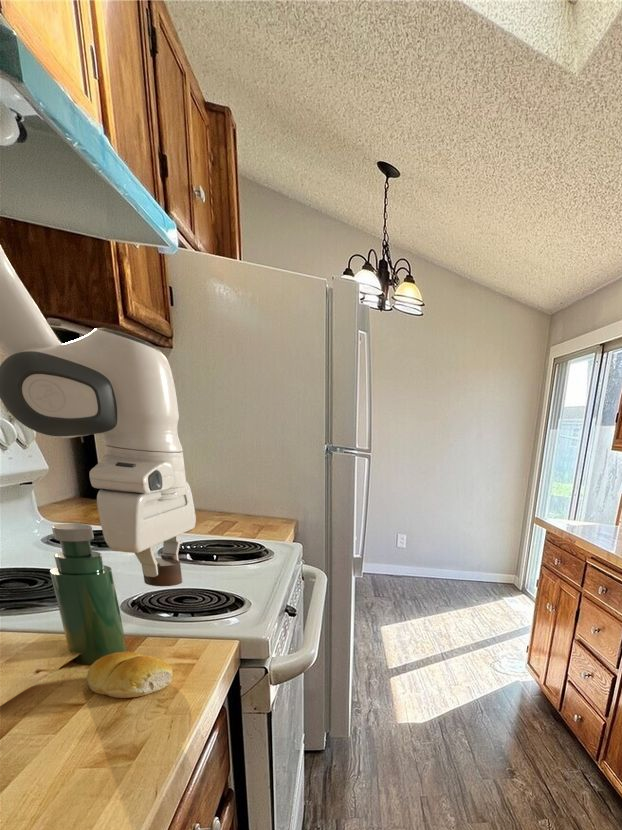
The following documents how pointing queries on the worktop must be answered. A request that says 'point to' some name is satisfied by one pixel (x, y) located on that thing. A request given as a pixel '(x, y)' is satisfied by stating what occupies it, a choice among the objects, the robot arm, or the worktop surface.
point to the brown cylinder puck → (166, 573)
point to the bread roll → (128, 675)
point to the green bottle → (86, 596)
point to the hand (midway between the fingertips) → (161, 570)
